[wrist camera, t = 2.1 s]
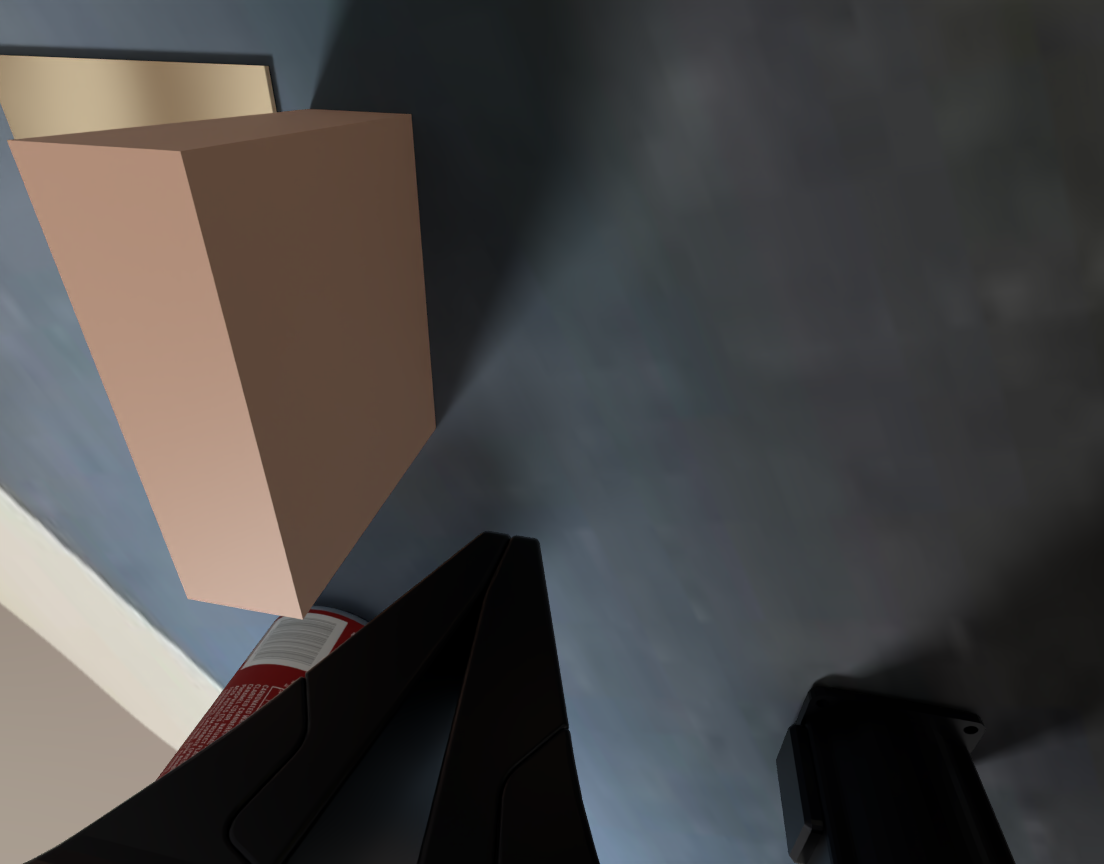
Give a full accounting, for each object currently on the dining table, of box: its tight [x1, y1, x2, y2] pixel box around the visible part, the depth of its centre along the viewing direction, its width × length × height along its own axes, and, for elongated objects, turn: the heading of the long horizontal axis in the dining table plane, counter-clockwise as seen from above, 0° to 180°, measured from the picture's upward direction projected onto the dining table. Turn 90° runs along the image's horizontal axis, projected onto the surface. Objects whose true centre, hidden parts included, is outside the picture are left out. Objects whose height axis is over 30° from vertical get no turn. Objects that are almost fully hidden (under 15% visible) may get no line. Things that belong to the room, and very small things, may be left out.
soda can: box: [157, 606, 369, 780], centre depth 24 cm, size 7×7×12 cm
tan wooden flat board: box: [0, 55, 277, 139], centre depth 20 cm, size 9×12×1 cm
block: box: [7, 109, 436, 620], centre depth 16 cm, size 3×10×9 cm, turn 178°
